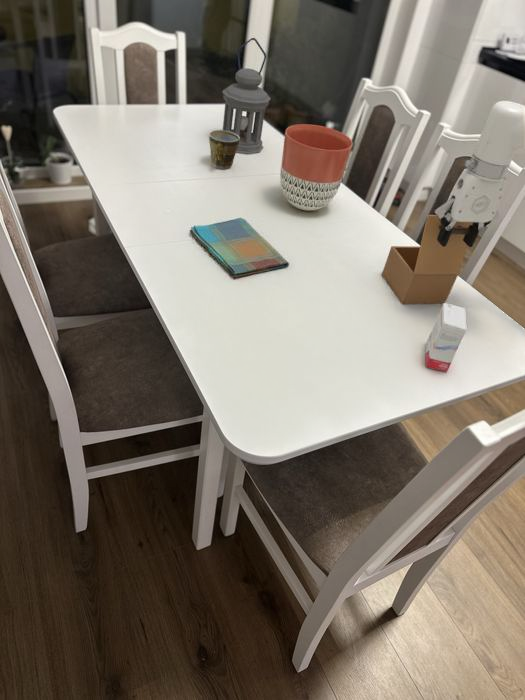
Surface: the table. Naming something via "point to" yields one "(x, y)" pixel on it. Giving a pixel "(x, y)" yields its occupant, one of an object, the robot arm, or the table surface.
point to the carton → (415, 278)
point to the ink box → (445, 337)
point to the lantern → (246, 107)
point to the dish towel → (238, 247)
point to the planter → (313, 165)
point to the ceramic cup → (223, 148)
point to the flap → (441, 248)
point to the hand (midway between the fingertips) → (454, 243)
